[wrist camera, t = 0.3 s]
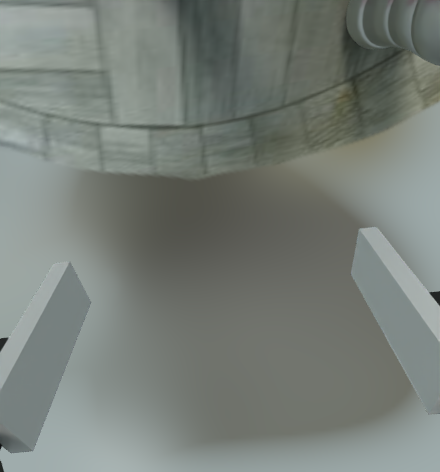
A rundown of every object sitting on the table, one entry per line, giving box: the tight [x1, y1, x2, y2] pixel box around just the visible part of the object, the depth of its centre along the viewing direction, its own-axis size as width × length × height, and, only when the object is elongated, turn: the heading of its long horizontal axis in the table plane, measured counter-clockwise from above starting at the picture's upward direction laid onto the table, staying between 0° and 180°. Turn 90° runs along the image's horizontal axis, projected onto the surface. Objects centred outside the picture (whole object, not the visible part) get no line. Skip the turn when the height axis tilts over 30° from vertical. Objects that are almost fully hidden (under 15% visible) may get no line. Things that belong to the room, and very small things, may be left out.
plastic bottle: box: [346, 0, 440, 66], centre depth 24 cm, size 6×7×20 cm
